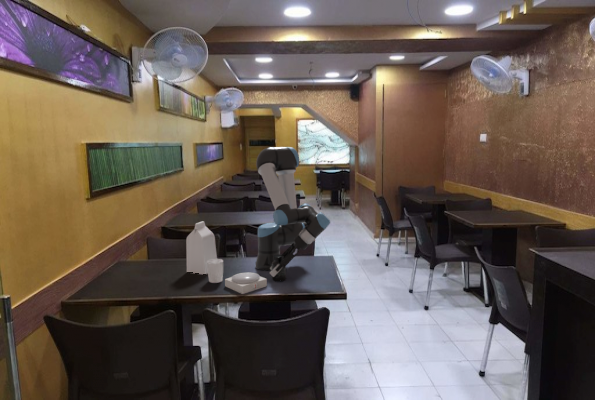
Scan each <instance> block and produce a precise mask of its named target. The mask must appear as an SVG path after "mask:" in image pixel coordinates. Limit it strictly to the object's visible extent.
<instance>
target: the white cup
mask: <svg viewBox="0 0 595 400" xmlns="http://www.w3.org/2000/svg"><path fill="white" fill-rule="evenodd" d="M207 269H208V273H207V276H208V282H209V283H211V284H217V283H222V282H223V281H224V276H223V275H224V259H222V258H217V259H211V260H208V261H207Z"/></svg>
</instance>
